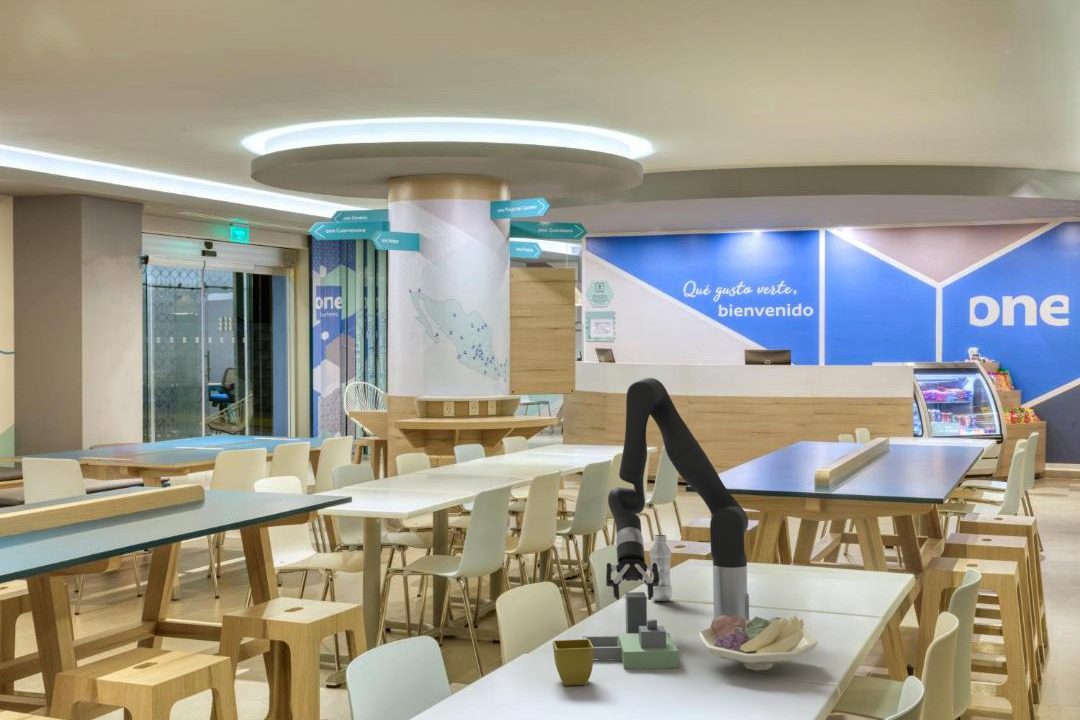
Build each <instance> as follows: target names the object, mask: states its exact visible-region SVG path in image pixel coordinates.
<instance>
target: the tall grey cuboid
mask: <svg viewBox="0 0 1080 720" xmlns="http://www.w3.org/2000/svg"><path fill="white" fill-rule="evenodd" d="M624 593H625V596H624V597H625V598H624V599H625V634H627V633H639V626H647V620H648V618H647V617H648V613H647V612H648V611H647V610H648V609H647V608H648V607H647V606H648V605H647V600H648V596H646V593H645V592H643V591H640V592H638V591H635V592H634V591H633V592H624Z"/></svg>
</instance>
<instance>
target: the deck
mask: <svg viewBox="0 0 1080 720" xmlns="http://www.w3.org/2000/svg"><path fill="white" fill-rule="evenodd" d="M582 639H589V640H590V641H591V644H592V645H593V647H594V655H593V659H594V660H593V661H596V660H595V659H621V660H620V661H621V663H622V666H624V667H623V669H624V668H634V669H677V667H678V668H679V649H678V648H677V646H676V645H675V642H674V640H673V638H672V636H671V634H670V632H667V631H666V628H665V627H664V625H658V620H657V619H653V618H651V619H647V626H639V633H627V634H626V633H617V635H591V636H590V635H584V636H583V635H582ZM672 667H673V668H672Z"/></svg>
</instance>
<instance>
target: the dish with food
mask: <svg viewBox="0 0 1080 720" xmlns="http://www.w3.org/2000/svg"><path fill="white" fill-rule="evenodd" d="M698 635H699V637H700V639H701V640H702V642H703V643H704V646H705V647H706V648H707V650H708V651H709V653H710V654H711V655H713V656H716V657H719V658H721V659H725V660H729V661H733V662H736V663H737V662H739V663H743V666H744V668H746V669H749V670H753V671H766V670H769V669H771V668H773V667H774V666H773V664H786V663H787V662H791V661H793V660H796V659H797V658H799V657H802V656H803V655H805V654H807V653H808V652H811V651H813V650H815V648H816V647H817V645H818V644H819V640H818V639H817V638H816V637H815V636H814V635H813V634H812V633H811V632H810V631H809V630H808V628H807V627H805V623H804V620H803V618H798V617H797V616H796V615H792V616H791V617H790V618H789V619H788V620H787V618H785V617H777V616H776V617H771V618H770V620H769V619H765V618H762V617H759V616H754V617H753V618H752V619H751V620H750V619H749V620H747V621H745V619H743V618H740V617H738V616H735V615H732V616H731V617H728V616H726V615H722V616H718V617H717V618H715V619H714V618H713V619H712V621H711V624H710V627H709V628H707V629H704V630H702V631H700V632H698Z"/></svg>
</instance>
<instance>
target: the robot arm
mask: <svg viewBox="0 0 1080 720" xmlns="http://www.w3.org/2000/svg"><path fill="white" fill-rule="evenodd" d="M625 409H626V410H625V432H624V442H623V450H622V454H621V455H622V456H621V460H620V466H619V467H620V468H619V472H618V476H619V479H620V480H621V481H624V482H626V483H628V484H631V485H633V488H628V487H627V488H625V487H619V486H618V487H617V486H616V487H613V488H612V489H611V490H610V491H609V493H608V496H607V504H608V507H609V510H610V512H611V515H612V517H613V520H614V522H615V527H616V528H615V529H616V530H615V531H616V541H615V544H616V545H615V548H616V560H617V561H616V562H617V564H615V565H612V563H611V562H608V563H606V575H605V577H606V578H605V579H606V580H605V585H606V587H608V588H609V587H611V588H612V590H613V598H615V599H616V600H617V601H619V600H620V587H619V586H620V585H621V584H622V583H623V582H624V581H626V582H630V581H635V582H638V581H640V582H641V583H642V584H644V585H645V586H646V588H647V600H648V601H649V600H650V601H651V600H652V598H653V594H654V592H653V587H654V586H658V585H659V574H658V568H657V564H656V563H653V565H651V564H647V563H646V557H645V545H644V539H643V534H642V532H643V531H642V523H641V518H640V516H639V515H638V514H640V513H642V512H643V510H644V509H645V506H646V498H645V496H646V495H645V490H644V488H645V487H644V476H645V471H646V466H647V459H648V444H647V426H648V421H649V418H650V417H652V419H653V420H654V422H655V424H656V425H657V427H658V429H659V430H660V433H661V436H662V441H663V445H664V449H665V451H666V454H667V457H668V459H669V461H670V462H671V463H672V465H673V467H674V469H675V470H676V472H677V473H678V475H679V476H680V477H681V479H682V480H683V481H684V482H685V483H686V484H687V485H688V486H689V487H690V488H692V490H694V492H695V493H696V494H698V495H699V496H700V498H701V499H702V500H703V502H704V503H705V506H707V508H708V510H709V512H710V514H711V515H712V516H711V518H710V524H709V535H710V537H709V540H710V554H711V557H712V591H713V592H712V593H713V594H712V596H713V599H712V600H713V602H712V603H713V620H714V619H715V618H717V617H718V616H722V615H726V616H728V617H731V616H732V615H735V616H738V617H740V618H743V619H745V621H747V620H750V594H749V593H748V556H747V554H746V550H745V533H746V532H747V530H748V527H749V517H748V514H747V513H746V511H745V510H744V509H743V508H742V506H741V505H740V504H739V503H738V501H737V500H736V499H735V498H734V495H732V494H731V493H730V491H729V490H728V489H727V487H726V486H725V485H724V483H723V481H722V480H721V477H720V476H719V474H718V472H717V471H716V469H715V467H714V465H713V464H712V462H711V461H710V459H709V457H708V456H707V454H706V453H705V451H704V449H703V447H701V445H700V443H699V441H698V440H697V439H696V438H695V436H694V435H693V433H692V432H691V429H690V428H689V427H688V426H687V424H686V423H685V421H684V420H683V418H682V417H681V415H680V414H679V412H678V410H677V408H676V406H675V404H674V402H673V400H672V399H671V397H670V394H669V392H668V390H667V388H666V387H665V386H664V384H663V383H662V382H661V381H660V380H658V379H656V378H654V377H647V378H643V379H639V380H636V381H634V382H633V383H631V384H630V385H629V387H628V388H627V392H626V400H625ZM615 571H616V572H617V573H618V574H617V576H616V577H615V578H614V579H612V574H614V572H615ZM647 571H649V573H650V574H651V575H652V573H653V579H654V580H652V577H649V574H648V573H647Z"/></svg>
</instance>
